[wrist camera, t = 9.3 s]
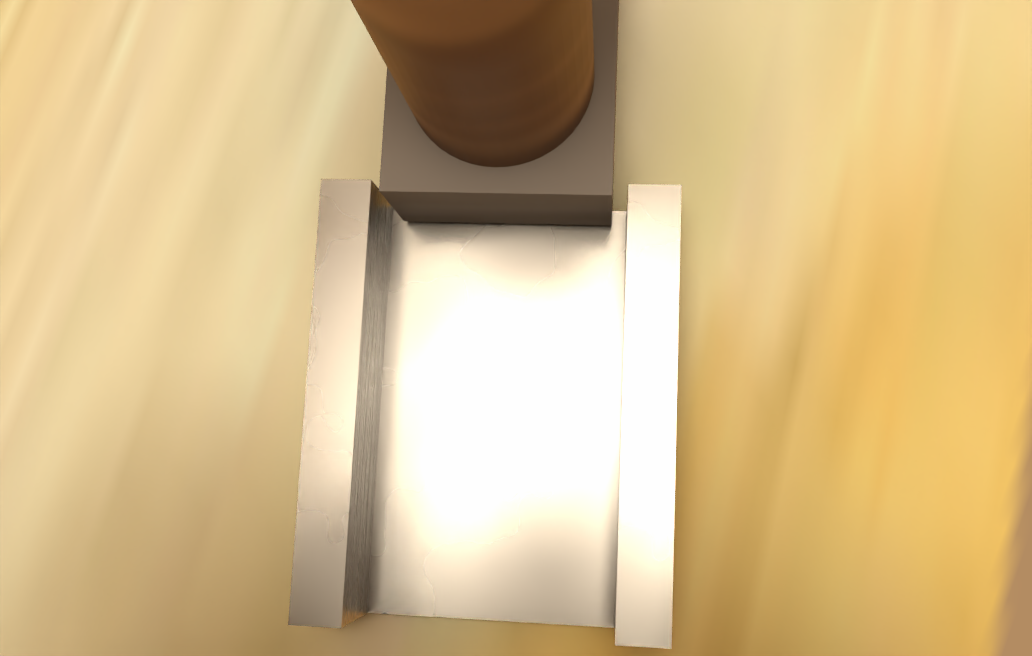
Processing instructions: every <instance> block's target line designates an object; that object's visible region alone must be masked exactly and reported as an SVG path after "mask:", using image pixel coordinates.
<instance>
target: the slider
mask: <svg viewBox="0 0 1032 656" xmlns="http://www.w3.org/2000/svg"><path fill="white" fill-rule="evenodd" d="M351 1H352V3H353V5H354V7H355V9H356V10H357V12H358V14H359V16H360V18H361V20H362V21H363V23H364V25H365V27H366V29H367V31H368V32H369V34H370V36H371V38H372V40H373V42H374V43H375V45H376V47H377V49H378V51H379V53H380V54H381V56H382V58H383V60H384V62H385V63H386V65H387V80H386V95H385V110H384V125H383V141H382V156H381V171H380V186H379V192H380V193H381V194H382V195H383V196H384V198H385V199H386V200H387V201H388V202H389V204H390V205H391V206H392V207H393V209H394V210H395V211H396V212H397V213H398V215H399V216H400V217H401V218H402V220H403V221H408V222H457V223H506V224H555V225H604V226H612V202H613V170H614V138H615V107H616V75H617V43H618V11H619V0H351Z"/></svg>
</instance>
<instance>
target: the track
mask: <svg viewBox="0 0 1032 656" xmlns="http://www.w3.org/2000/svg"><path fill="white" fill-rule="evenodd" d="M681 186H682V185H661V184H628V198H627V211H612V226H604V225H555V224H506V223H457V222H408V221H403V220H402V218H401V217H400V216H399V215H398V213H397V212H396V211H395V210H394V209H393V207H392V206H391V205H390V204H389V202H388V201H387V200H386V199H385V198H384V196H383V195H382V194H381V193H380V192H379V189H378V188H377V186H376V185H375V184H374V183H373V181H372V180H355V179H321V190H320V203H319V217H318V230H317V244H316V257H315V271H314V284H313V298H312V311H311V325H310V338H309V351H308V365H307V378H306V392H305V405H304V419H303V432H302V446H301V459H300V473H299V486H298V500H297V513H296V527H295V540H294V553H293V567H292V580H291V594H290V607H289V621H288V625H295V626H311V627H327V628H343V627H344V626H346V625H348V624H349V623H351V622H353V621H355V620H356V619H358V618H360V617H361V616H363V615H365V614H366V613H378V614H395V615H411V616H428V617H444V618H461V619H478V620H494V621H511V622H527V623H544V624H560V625H577V626H594V627H610V628H614V633H615V645H617V646H633V647H649V648H666V649H672V604H673V558H674V511H675V465H676V419H677V372H678V326H679V279H680V233H681Z"/></svg>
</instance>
